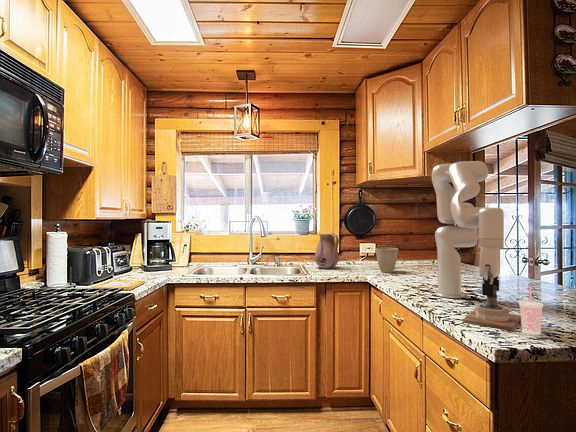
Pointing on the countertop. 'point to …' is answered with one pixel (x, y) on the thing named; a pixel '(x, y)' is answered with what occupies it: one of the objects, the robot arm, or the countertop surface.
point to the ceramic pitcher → (327, 251)
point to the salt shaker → (492, 301)
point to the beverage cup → (531, 316)
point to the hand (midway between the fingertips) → (490, 293)
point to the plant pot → (386, 259)
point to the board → (493, 318)
